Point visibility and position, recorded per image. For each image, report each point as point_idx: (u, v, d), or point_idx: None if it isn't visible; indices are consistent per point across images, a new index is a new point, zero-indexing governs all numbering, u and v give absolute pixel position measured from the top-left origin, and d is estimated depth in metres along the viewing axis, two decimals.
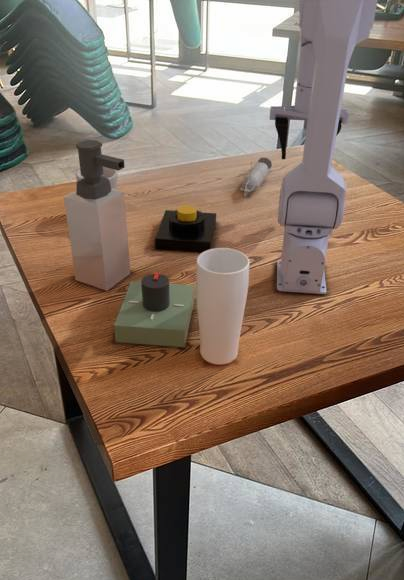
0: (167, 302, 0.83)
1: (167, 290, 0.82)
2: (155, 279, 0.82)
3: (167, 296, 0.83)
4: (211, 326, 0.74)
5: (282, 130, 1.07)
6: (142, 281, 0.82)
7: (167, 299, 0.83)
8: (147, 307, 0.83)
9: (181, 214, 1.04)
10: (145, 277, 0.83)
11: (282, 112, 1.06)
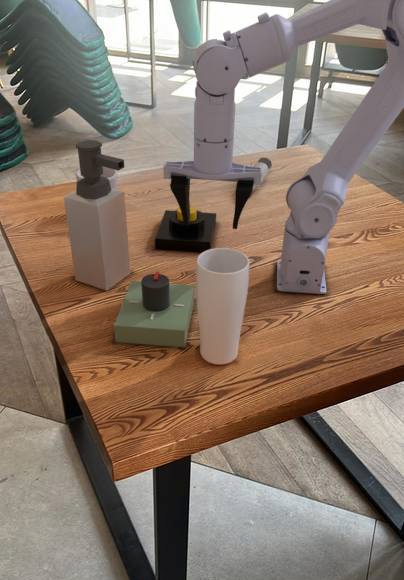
0: (167, 302, 0.83)
1: (167, 290, 0.82)
2: (155, 279, 0.82)
3: (167, 296, 0.83)
4: (211, 327, 0.74)
5: (179, 192, 0.85)
6: (142, 281, 0.82)
7: (167, 299, 0.83)
8: (147, 307, 0.83)
9: (181, 214, 1.04)
10: (145, 277, 0.83)
11: (178, 170, 0.84)
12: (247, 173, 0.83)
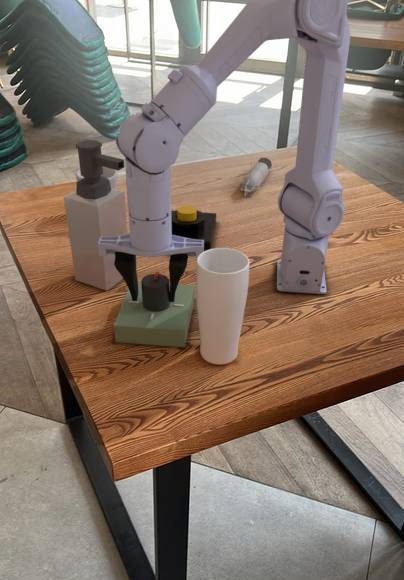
0: (167, 302, 0.83)
1: (167, 290, 0.82)
2: (155, 279, 0.82)
3: (167, 296, 0.83)
4: (211, 327, 0.74)
5: (124, 270, 0.79)
6: (142, 281, 0.82)
7: (167, 299, 0.83)
8: (147, 307, 0.83)
9: (181, 214, 1.04)
10: (145, 277, 0.83)
11: (114, 247, 0.78)
12: (188, 248, 0.78)
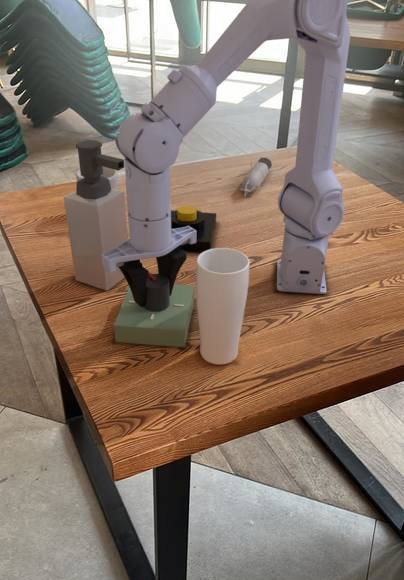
0: (169, 296, 0.84)
1: None
2: (155, 279, 0.82)
3: None
4: (211, 327, 0.74)
5: (142, 276, 0.78)
6: (146, 285, 0.81)
7: (169, 294, 0.84)
8: (156, 309, 0.83)
9: (181, 214, 1.04)
10: None
11: (125, 258, 0.76)
12: (186, 236, 0.81)
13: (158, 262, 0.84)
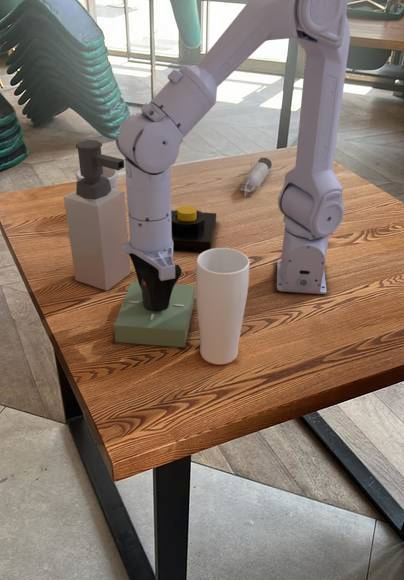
0: None
1: None
2: None
3: None
4: (211, 327, 0.74)
5: None
6: None
7: None
8: None
9: (181, 214, 1.04)
10: None
11: (172, 259, 0.76)
12: None
13: (137, 263, 0.83)
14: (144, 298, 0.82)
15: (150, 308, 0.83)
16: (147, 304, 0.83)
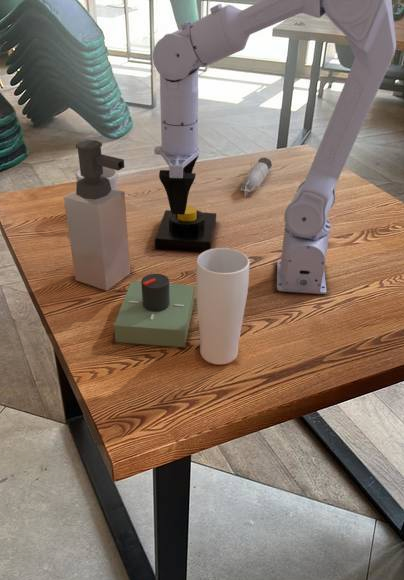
0: None
1: None
2: None
3: None
4: (211, 327, 0.74)
5: None
6: (165, 284, 0.81)
7: None
8: None
9: None
10: (158, 286, 0.81)
11: (186, 162, 0.87)
12: None
13: None
14: (144, 298, 0.82)
15: (150, 308, 0.83)
16: (147, 304, 0.83)
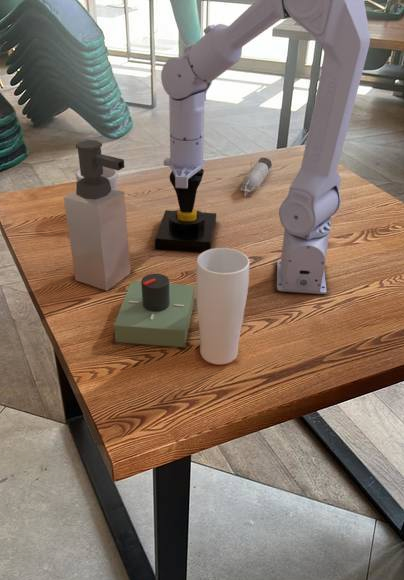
0: None
1: None
2: None
3: None
4: (211, 327, 0.74)
5: None
6: (165, 284, 0.81)
7: None
8: None
9: (181, 215, 1.04)
10: (158, 286, 0.81)
11: (191, 174, 0.95)
12: None
13: None
14: (144, 298, 0.82)
15: (150, 308, 0.83)
16: (147, 304, 0.83)
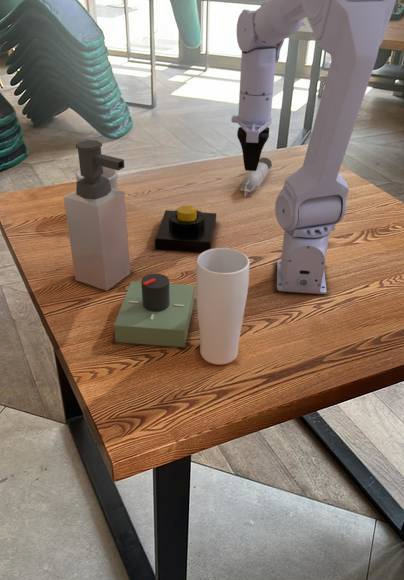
0: None
1: None
2: None
3: None
4: (211, 327, 0.74)
5: None
6: (165, 284, 0.81)
7: None
8: None
9: (181, 214, 1.04)
10: (158, 286, 0.81)
11: (261, 129, 0.97)
12: None
13: None
14: (144, 298, 0.82)
15: (150, 308, 0.83)
16: (147, 304, 0.83)
